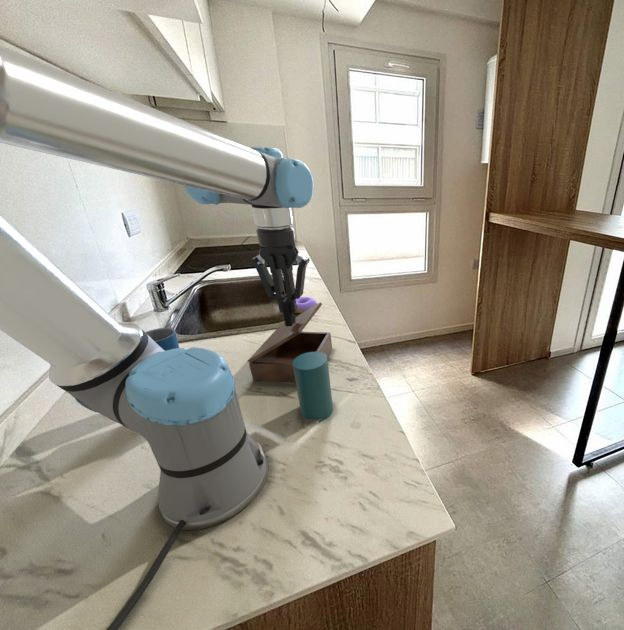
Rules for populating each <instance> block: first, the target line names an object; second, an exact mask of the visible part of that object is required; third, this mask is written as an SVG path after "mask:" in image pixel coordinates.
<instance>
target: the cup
mask: <svg viewBox="0 0 624 630" xmlns="http://www.w3.org/2000/svg"><path fill="white" fill-rule="evenodd" d="M144 332H145V333H146V334H147V335H148V336H149V337H151V338H152V339H153V340H154V341H155V342H156V343H157V344H158V345H159V346H160V347H161V348H162V349H163V350H165V351H166V350H171V349H176V348H180V344H179V341H178V337H177V333H176V330H175V329H174V328H172V327H159V328H153V329H150V330H147V331H144Z"/></svg>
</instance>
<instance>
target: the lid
mask: <svg viewBox="0 0 624 630" xmlns="http://www.w3.org/2000/svg"><path fill="white" fill-rule="evenodd" d="M322 305H323V303H322V302H321V301H320V302H317V304H316V305H315V306H313V307H312V308H310V309H308V310H307V311H305V312H303V313H299V314H298V315H296V316H295V321H296V322H295V323H294V324H293V325H292V326H285V323H284V324H282V325H281V326H278V327H277V328H276V329H275V330H274V331H273V333H272V334H271V335H270V336H269V337H268V338H267V339H266V340H265V341H264V342H263V343H262V345H260V347H258V349H257V350H256V351H255V352H253V354H252V355H251V356H250V357H249V358H248V360H247V362H248V364H249V363H251V362H253V361H254V360H256V359H258V358H259V357H261V356H263V355H264V354H266V353H268V352H270V351H271V350H273V349H275V348H276V347H278V346H280V345H281V344H283V343H285V342H286V341H288V340H290V339H291V338H293V337H295V336H297V335H298V334H300V333H301V332H303V330H304V329H305V328H306V326H307V325H308V324H309V322H311V320H312V319H313V317H314V316H315V315H316V313H318V310H319V309H320V308H321V307H322Z"/></svg>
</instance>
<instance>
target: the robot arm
mask: <svg viewBox="0 0 624 630" xmlns="http://www.w3.org/2000/svg"><path fill="white" fill-rule="evenodd" d="M0 144H4V145H9V146H12V147H17V148H22V149H26V150H30V151H35V152H39V153H43V154H47V155H52V156H55V157H61V158H65V159H69V160H73V161H78V162H82V163H86V164H91V165H95V166H98V167H99V166H100V167H104V168H108V169H112V170H117V171H121V172H124V173H125V172H126V173H130V174H134V175H137V176H143V177H147V178H150V179H156V180H160V181H164V182H168V183H173V184H177V185H182V186H183V187H184V189H185V191H186V193H187V194H188V196H189V197H190V198H191V199H192V200H193V201H195V202H196V203H197V204H201V205H216V206H218V205H219V204H238V205H250V206H251V209H252V215H253V221H254V225H255V227H257V229H256V230H255V231H256V237H257V241H258V245H259V250H258V254H257V255H256V256H254V257H252V258H250V261H249V262H250V263H251V265H252V266H253V267H254V269H255V270H256V272H257V274H258V276H259V279H260V282H261V283H262V286H263V287H264V290H265V292H266V294H267V296H268V298H269V299H275V300H276V301H277V305H278V310H279V312H280V313H282V314H283V319H284V324H285V326H292V325H293V324H294V323H295V322H296V321H295V317H296V315H295V314H296V313H295V312H296V311H297V304H296V299H299V298H300V297H303V295H304V289H305V282H306V280H305V279H306V273H307V272H306V271H307V266H308V264H309V262H310V257H307V256H306V257H304V256H303V255H301V254H300V252H299V250H298V249H297V247H296V237H295V230H294V227H292V225H293V216H292V210H291V209H302V208H304V207H306V206H307V205H308V204H309V203H310V202H311V200H312V198H313V195H314V186H315V185H314V183H315V182H314V179H313V178H314V177H313V174H312V173H311V170H310V169H309V167H308V166H307V165H306V164H305V163H304V162H303V161H301V160H299V159H296V158H289V157H286V156H283V153H282V152H281V150H280V149H279V148H276V147H263V146H259V147H258V146H246V145H244V144H241V143H239V142H237V141H234V140H232V139H229V138H227V137H224V136H222V135H220V134H218V133H215V132H213V131H210V130H207V129H205V128H203V127H200V126H198V125H196V124H193V123H190V122H188V121H185V120H183V119H181V118H178V117H175V116H174V115H171V114H168V113H166V112H164V111H161V110H158V109H156V108H153V107H151V106H149V105H146V104H143V103H142V102H139V101H137V100H134V99H132V98H129V97H127V96H124V95H122V94H119V93H117V92H114V91H112V90H109V89H107V88H105V87H102V86H100V85H97V84H95V83H93V82H91V81H88V80H86V79H83V78H82V77H81V78H80V77H78V76H76V75H74V74H70V73H68V72H67V71H63V70H61V69H58V68H56V67H53V66H51V65H49V64H46V63H44V62H41V61H39V60H37V59H34V58H31V57H29V56H27V55H24V54H22V53H20V52H17V51H14V50H12V49H9V48H7V47H5V46H3V45H0ZM295 262H296V265H297V266H298V267H297V269H296V279H295V280H294V274H293V270H294V266H293V265H294V263H295ZM267 265H268V267H269V268H268V267H267ZM270 273H271V274H270ZM0 331H1V332H3V333H4V334H6V335H7V336H9V337H10V338H11V339H13V340H14V341H16V342H17V343H19V344H20V345H21V346H23V347H25V348H26V349H28V350H29V351H30V352H31V353H33V354H34V355H36V356H38V357H39V358H41V359H42V360H43V361H45V362H46V363H48V364H49V365H50V366H49V369H48V379H49V381H50V382H51V383H52V384H53V385H55V386H57V387H59V389H61V390H63V391H64V392H66V393H67V394H69V395H70V396H71V397H72V398H74V400H75V401H76V402H77V404H79V405H80V406H81V407H84V408H85V409H87V410H89V411H92V412H94V413H97V414H100V415H102V416H103V417H106V418H108V419H109V420H111V421H113V422H115V423H117V424H119V425H121V426H122V427H125V428H126V429H128V430H130V431H132V432H134V433H136V434H137V435H140V436H142V438H143V439H145V440H146V442H147V443H148V445H149V447H150V449H151V452H152V454H153V456H154V459H155V461H156V463H157V465H158V468H159V470H160V473H159V482H158V483H159V485H158V494H157V498H158V499H157V501H158V509H159V511H160V513H161V515H162V517H163V519H164V521H165V522H166V523H167V524H168V525H169V526H171V527H173V528H174V529H173V531H172V533H171V534H170V536H169V537H168V539H167V540H166V542H165V544H164V545H163V547H162V548H161V550H160V552H159V554H158V555H157V557H156V558H155V560H154V562H153V564H152V565H151V567H150V568H149V570H148V572H147V573H146V574H145V576H144V578H143V579H142V581H141V582H140V584H139V586H138V587H137V589H136V590H135V591H134V593H133V594H132V595H131V597H130V598H129V600H128V601H127V603H126V604H125V605H124V607H123V608H122V609H121V611H120V612H119V613H118V615H117V616H116V617H115V619H114V620H113V621H112V623H110V625H109V626H108V627H107V629H106V630H119V628H120V627H121V625H122V624H123V623H124V621H125V620H126V619H127V617H128V616H129V614H130V613H131V612H132V610H133V609H134V608H135V606H136V604H137V603H138V602H139V601H140V599H141V597H142V596H143V594H144V593H145V591H146V590H147V589H148V587H149V585H150V584H151V582H152V581H153V579H154V578H155V576H156V575H157V573H158V571H159V569H160V568H161V565H162V564H163V562H164V560H165V559H166V557H167V555H168V554H169V552H170V550H171V549H172V547H173V546H174V544H175V542H176V540H177V539H178V537H179V535H180V534H181V532H182V531H183V530H184V531H196V530H197V531H198V530H203V529H207V528H210V527H213V526H216V525H219V524H220V523H223V522H225V521H227V520H229V519H231V518H233V517H234V516H236V515H237V514H238V513H240V512H241V511H243V510H244V509H245V508H247V506H249V505H250V504H251V503H252V502H253V501H254V500H255V498H256V497H257V496H258V495H259V493H260V492H261V491H262V490H263V488H264V485H265V483H266V480H267V479H268V475H269V465H268V460H267V456H266V454H265V452H264V450H263V448H262V447H263V446H262V445H261V444H260V443H259V442H256V441H255V439H253V437H252V436H251V435H250V434H249V433H248V432H247V428H246V424H245V421H244V417H243V413H242V409H241V406H240V401H239V398H238V394H237V390H236V381H235V377H234V375H233V373H232V371H231V369H230V367H229V365H228V363H227V361H226V360H225V358H224V357H222V355H220V354H219V353H217V352H216V351H213V350H211V349H207V348H205V347H204V348H202V347H196V346H195V347H194V346H192V347H190V348H188V349H187V348H186V349H185V348H184V347H179V348H176V349H171V350H166V351H165V350H163V349H162V348H161V347H160V346H159V345H158V344H157V343H156V342H155V341H154V340H153V339H152V338H151V337H149V336H148V335H147V334H146V333H145V332H146V331H145V330H143V329H142V328H141V327H140V326H139V325H138V324H137V323H134V322H129V321H127V322H126V321H123V322H122V321H121V322H119V321H117V320H115V318H114V317H112V316H111V315H110V314H109V313H108V312H107V311H106V310H105V309H104V308H103V307H102V306H100V305H99V303H97V302H96V301H95V300H94V299H93V298H92V297H91V296H90V295H89V294H87V292H85V291H84V290H83V288H81V287H80V286H79V285H78V284H77V283H76V282H75V281H74V280H73V279H71V278H70V277H69V275H67V274H66V273H65V272H64V271H63V269H61V268H60V267H59V266H58V265H56V264H55V263H54V262H53V261H52V260H51V259H50V258H49V257H48V256H47V255H46V254H45V253H43V252H42V251H41V250H40V249H39V248H38V247H37V246H36V245H34V243H33V242H31V241H30V240H29V239H28V238H27V237H26V235H24V234H23V233H22V232H21V231H20V230H19V229H17V228H16V227H15V226H14V224H12V223H11V222H10V221H9V220H8V219H7V218H6V217H5V216H3V214H2V213H0Z"/></svg>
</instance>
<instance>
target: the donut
mask: <svg viewBox="0 0 624 630" xmlns="http://www.w3.org/2000/svg"><path fill="white" fill-rule="evenodd" d="M296 304H297V311H296V312H295V313H294V314H302V313H303V312H305V311H307V310H308V309H310V308H312V307H313V306H315V305H316V304H318V302H317V299H315V298H313V297H310V296H301V297H300V298H299V299H296Z"/></svg>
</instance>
